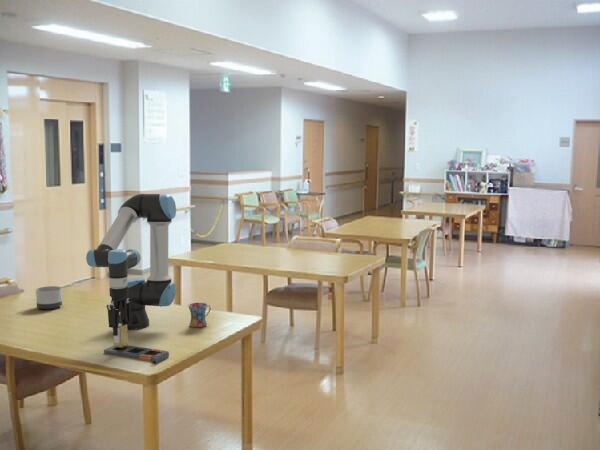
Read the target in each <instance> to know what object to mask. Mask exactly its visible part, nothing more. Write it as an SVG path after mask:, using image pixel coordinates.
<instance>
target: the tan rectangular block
mask: <svg viewBox="0 0 600 450" xmlns="http://www.w3.org/2000/svg"><path fill="white" fill-rule="evenodd" d="M118 327H119V328H120V343H115V342H114V341H113V346H114V347H120V348H122V347H124V346H126V345H129V340H128V330H127V324H121V323H119V325H118Z"/></svg>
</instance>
